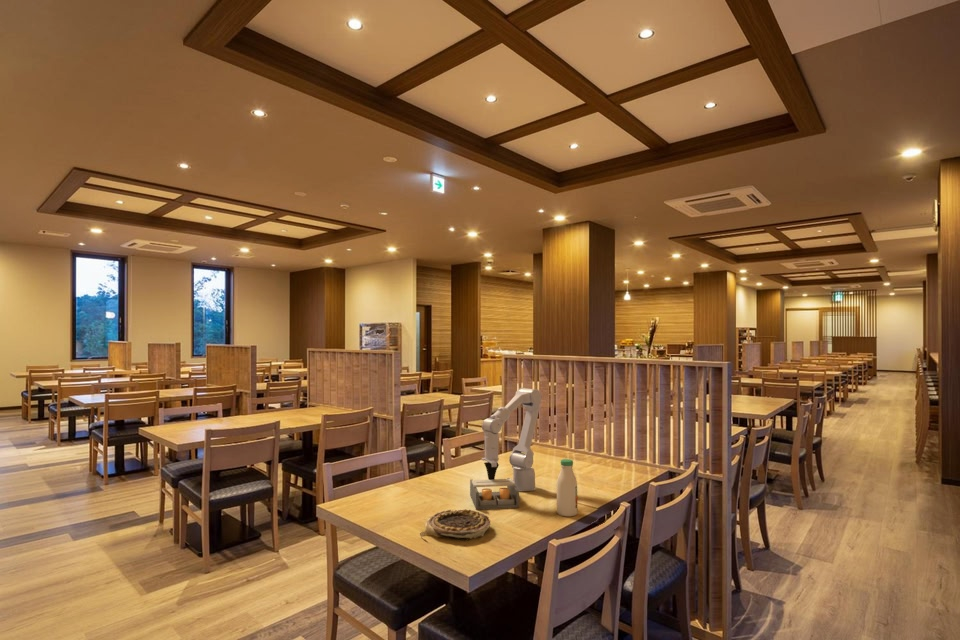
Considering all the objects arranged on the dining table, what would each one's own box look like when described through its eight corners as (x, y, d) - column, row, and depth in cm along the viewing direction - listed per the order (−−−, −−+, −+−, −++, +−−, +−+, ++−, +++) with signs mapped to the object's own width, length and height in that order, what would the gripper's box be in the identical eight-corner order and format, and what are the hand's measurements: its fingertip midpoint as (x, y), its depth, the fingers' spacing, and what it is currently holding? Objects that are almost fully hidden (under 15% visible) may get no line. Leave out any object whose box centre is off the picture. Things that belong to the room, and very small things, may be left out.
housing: (509, 493, 213) (509, 477, 214) (519, 507, 195) (519, 490, 196) (470, 495, 211) (470, 479, 211) (476, 509, 193) (476, 492, 193)
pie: (478, 513, 190) (478, 500, 190) (515, 540, 166) (515, 525, 166) (407, 525, 178) (407, 511, 178) (436, 556, 153) (437, 540, 153)
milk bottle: (572, 518, 184) (572, 463, 184) (553, 514, 188) (553, 460, 189) (580, 512, 190) (580, 459, 191) (561, 508, 194) (561, 456, 195)
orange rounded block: (508, 500, 202) (508, 487, 202) (510, 503, 198) (510, 490, 198) (498, 500, 201) (498, 487, 201) (500, 503, 197) (500, 490, 197)
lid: (511, 480, 209) (511, 478, 209) (515, 485, 202) (515, 483, 202) (471, 482, 207) (471, 479, 207) (474, 487, 200) (474, 485, 200)
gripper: (479, 444, 216) (479, 475, 215) (484, 451, 201) (484, 485, 201) (495, 443, 217) (495, 475, 216) (501, 451, 203) (501, 485, 202)
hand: (491, 480), depth 209 cm, fingers closed
